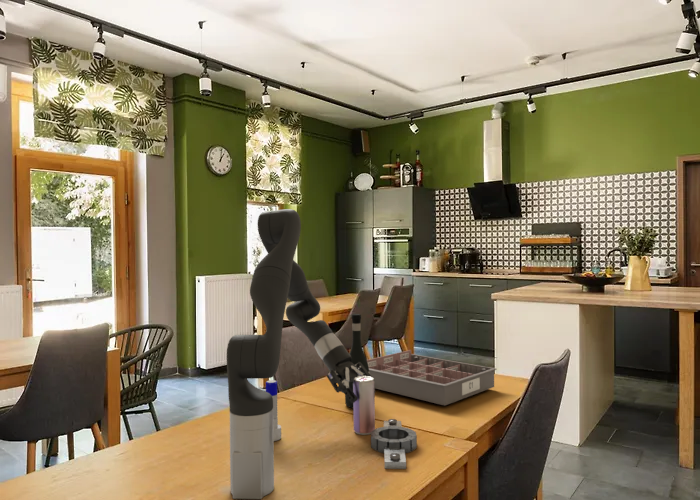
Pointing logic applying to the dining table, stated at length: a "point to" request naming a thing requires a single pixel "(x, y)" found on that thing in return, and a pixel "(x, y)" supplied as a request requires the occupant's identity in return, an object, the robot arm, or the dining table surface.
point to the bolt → (274, 408)
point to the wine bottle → (356, 350)
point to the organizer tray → (429, 377)
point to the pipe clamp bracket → (394, 443)
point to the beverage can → (364, 405)
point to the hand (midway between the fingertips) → (364, 397)
